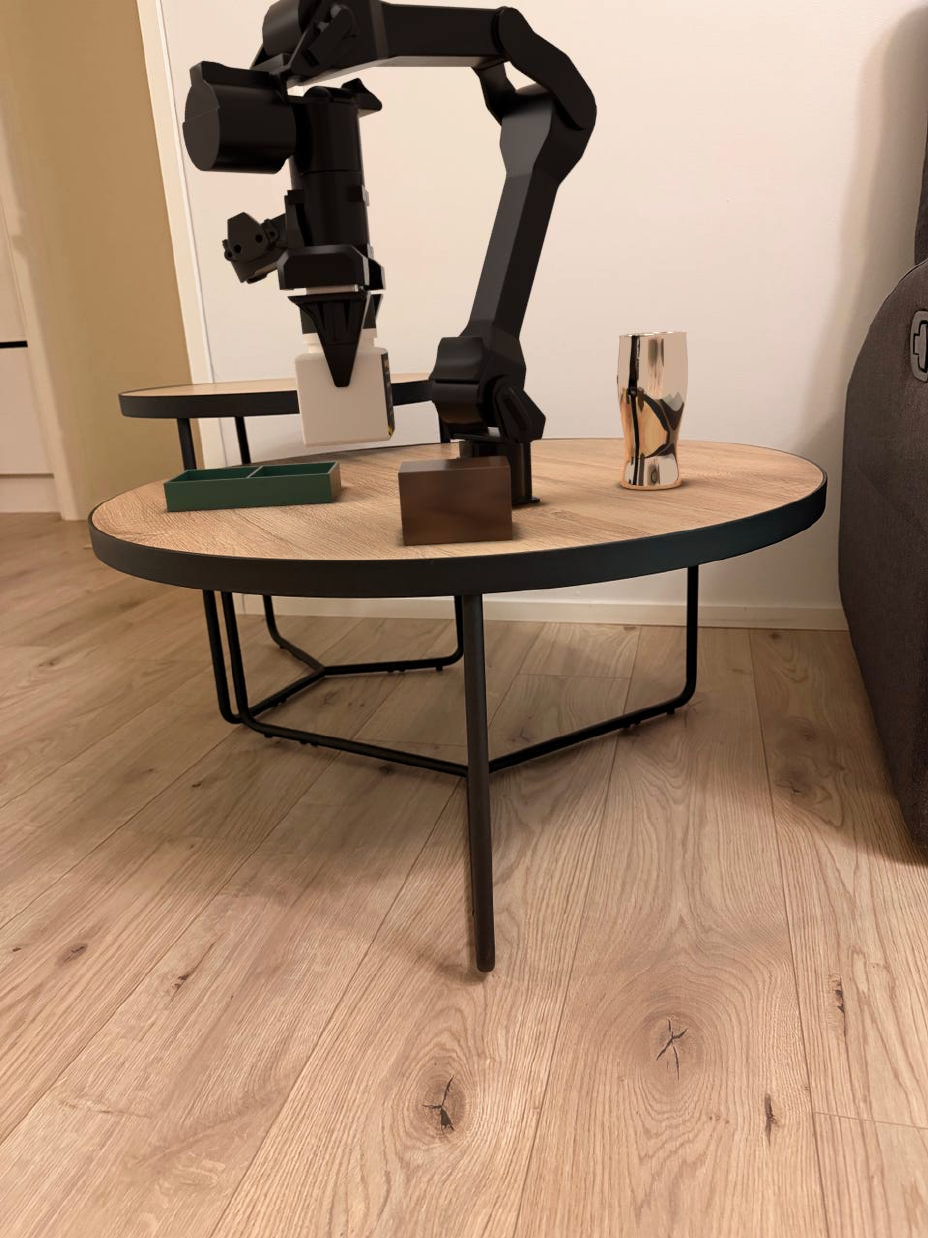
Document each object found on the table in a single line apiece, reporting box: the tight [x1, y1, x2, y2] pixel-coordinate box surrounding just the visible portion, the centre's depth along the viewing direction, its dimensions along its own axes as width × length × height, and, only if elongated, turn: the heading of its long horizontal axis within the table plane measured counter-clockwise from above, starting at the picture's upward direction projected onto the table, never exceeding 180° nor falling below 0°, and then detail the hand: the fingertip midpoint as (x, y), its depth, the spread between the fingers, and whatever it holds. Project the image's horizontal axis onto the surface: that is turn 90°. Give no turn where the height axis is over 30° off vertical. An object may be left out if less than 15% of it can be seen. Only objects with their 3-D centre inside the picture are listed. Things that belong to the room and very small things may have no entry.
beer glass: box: [616, 330, 689, 491], centre depth 93 cm, size 7×7×15 cm
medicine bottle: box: [292, 288, 396, 448], centre depth 76 cm, size 7×7×12 cm
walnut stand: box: [397, 456, 514, 546], centre depth 77 cm, size 9×6×6 cm, turn 91°
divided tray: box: [163, 461, 342, 513], centre depth 99 cm, size 17×9×3 cm, turn 91°
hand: (348, 383), depth 76 cm, fingers closed on medicine bottle, 7 cm apart
